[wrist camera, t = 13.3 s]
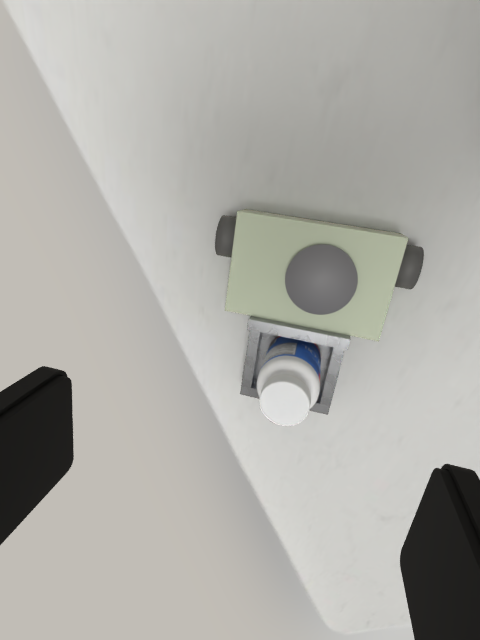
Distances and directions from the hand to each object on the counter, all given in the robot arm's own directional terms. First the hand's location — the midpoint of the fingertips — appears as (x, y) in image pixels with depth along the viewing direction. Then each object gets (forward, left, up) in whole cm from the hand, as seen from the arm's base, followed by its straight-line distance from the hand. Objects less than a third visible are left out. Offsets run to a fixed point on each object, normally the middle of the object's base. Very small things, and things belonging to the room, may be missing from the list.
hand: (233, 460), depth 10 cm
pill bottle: (-1, +9, -28) cm, 30 cm away
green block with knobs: (-1, 0, -28) cm, 28 cm away
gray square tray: (-1, +10, -28) cm, 30 cm away
